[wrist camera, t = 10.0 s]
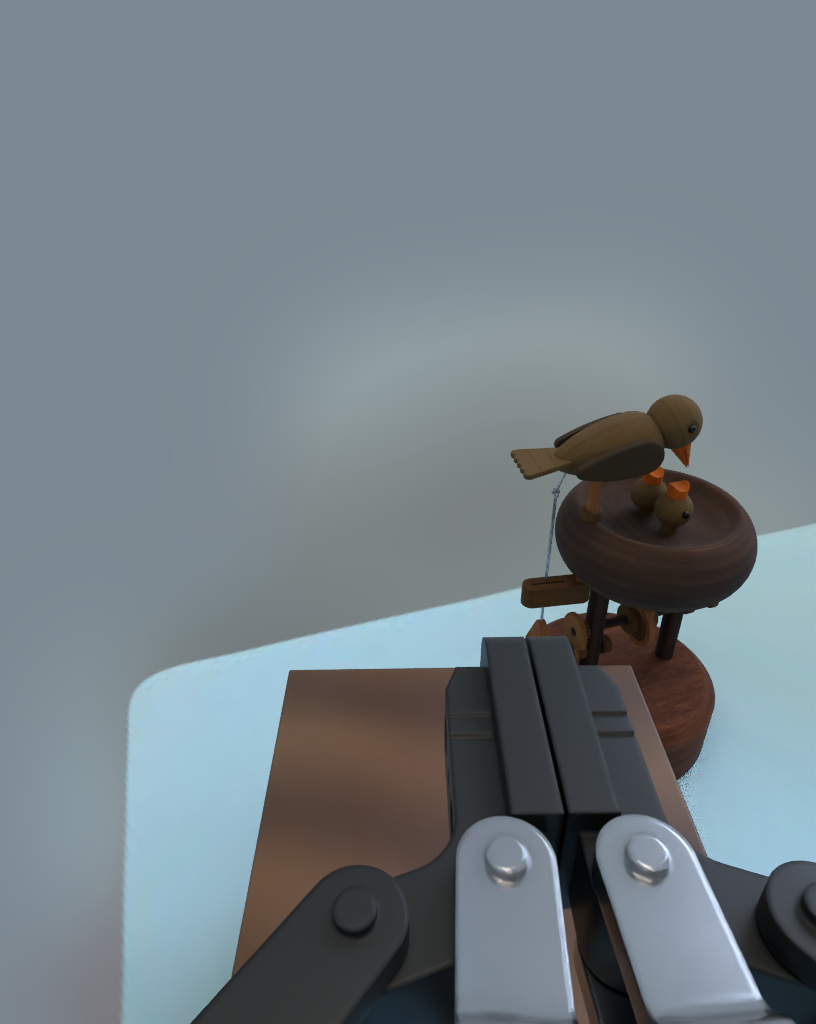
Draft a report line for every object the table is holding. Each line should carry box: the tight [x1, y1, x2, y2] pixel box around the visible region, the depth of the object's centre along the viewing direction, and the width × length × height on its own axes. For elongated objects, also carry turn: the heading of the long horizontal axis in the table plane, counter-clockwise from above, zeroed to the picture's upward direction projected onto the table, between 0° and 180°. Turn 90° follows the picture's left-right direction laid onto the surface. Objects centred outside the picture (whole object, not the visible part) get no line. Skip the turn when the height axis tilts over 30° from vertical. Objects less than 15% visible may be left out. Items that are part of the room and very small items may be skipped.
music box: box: [511, 395, 757, 779], centre depth 36 cm, size 15×11×20 cm
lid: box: [231, 665, 707, 1024], centre depth 21 cm, size 14×13×1 cm
